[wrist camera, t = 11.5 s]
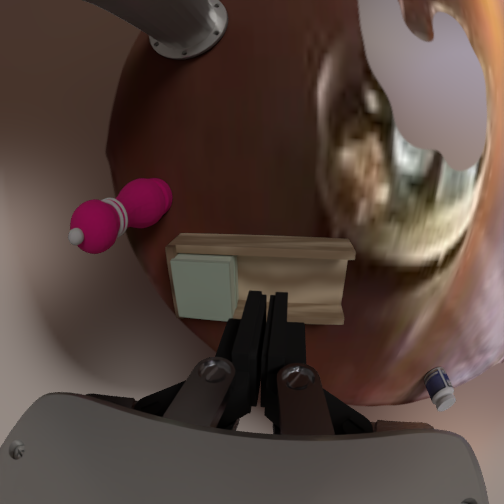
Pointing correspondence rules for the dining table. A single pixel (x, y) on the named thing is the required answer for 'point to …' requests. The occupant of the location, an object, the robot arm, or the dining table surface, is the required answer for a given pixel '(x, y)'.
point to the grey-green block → (205, 285)
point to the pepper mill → (119, 214)
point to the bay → (279, 270)
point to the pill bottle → (439, 388)
